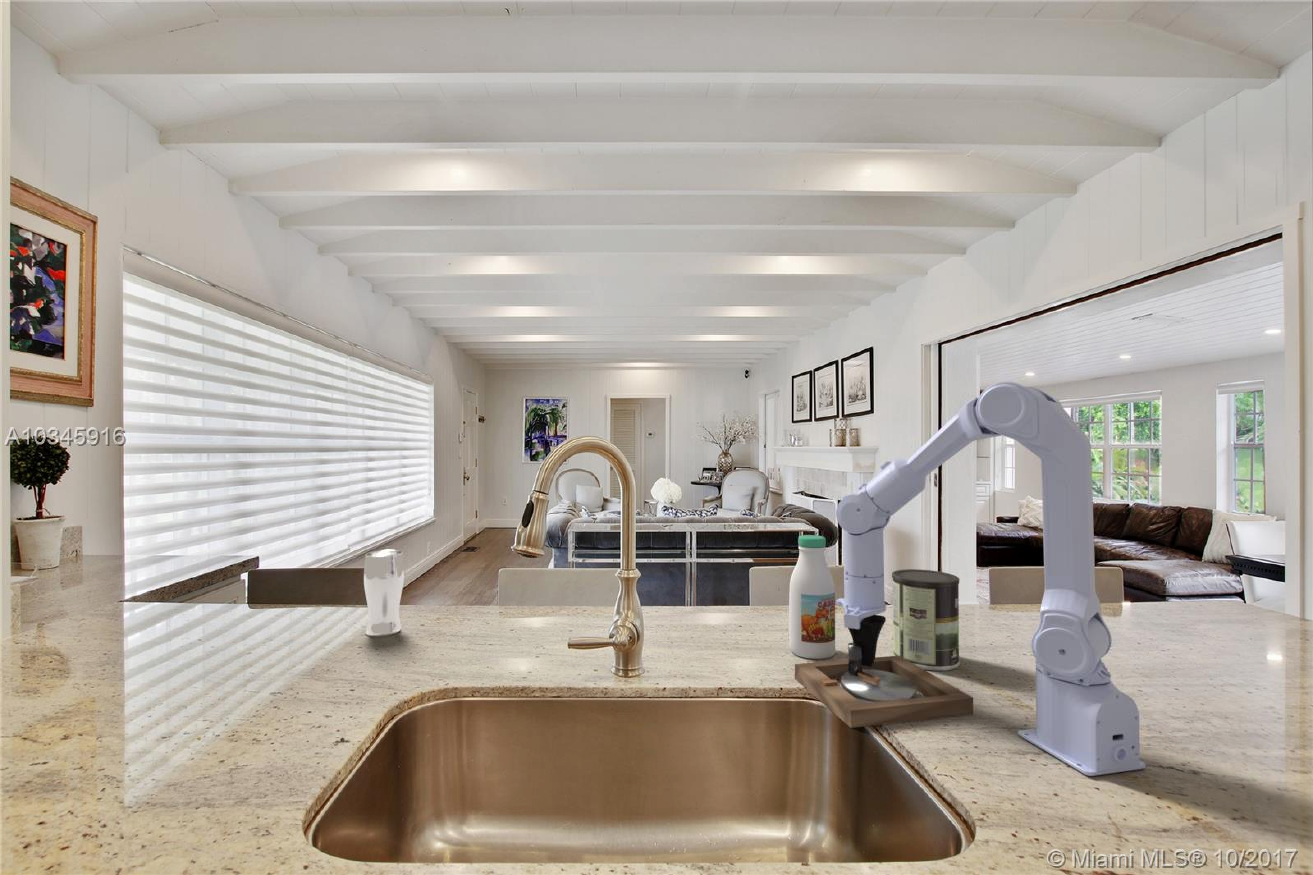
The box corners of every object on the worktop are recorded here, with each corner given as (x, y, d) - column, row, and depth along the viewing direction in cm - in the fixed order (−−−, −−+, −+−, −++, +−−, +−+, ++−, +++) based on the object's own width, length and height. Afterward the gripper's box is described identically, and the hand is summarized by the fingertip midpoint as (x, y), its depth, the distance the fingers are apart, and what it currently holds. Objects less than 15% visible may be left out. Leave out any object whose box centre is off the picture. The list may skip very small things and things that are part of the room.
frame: (973, 714, 78) (973, 694, 78) (850, 727, 74) (850, 707, 74) (899, 669, 93) (899, 653, 93) (794, 678, 90) (794, 661, 90)
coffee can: (949, 651, 102) (949, 570, 102) (968, 673, 92) (968, 583, 92) (886, 647, 104) (886, 567, 104) (898, 668, 94) (898, 580, 94)
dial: (931, 699, 82) (931, 657, 82) (883, 715, 77) (883, 671, 77) (872, 675, 90) (872, 637, 91) (826, 688, 85) (826, 648, 85)
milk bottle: (783, 655, 99) (783, 537, 100) (795, 642, 106) (795, 532, 106) (830, 663, 96) (830, 541, 96) (839, 649, 103) (839, 535, 103)
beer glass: (363, 628, 113) (364, 551, 113) (403, 624, 116) (403, 548, 116) (362, 639, 107) (363, 557, 107) (404, 634, 110) (404, 554, 110)
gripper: (849, 562, 96) (851, 645, 96) (822, 579, 84) (823, 674, 84) (895, 567, 92) (896, 653, 92) (873, 585, 80) (874, 685, 80)
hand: (865, 664), depth 88 cm, fingers closed, pressing on dial
